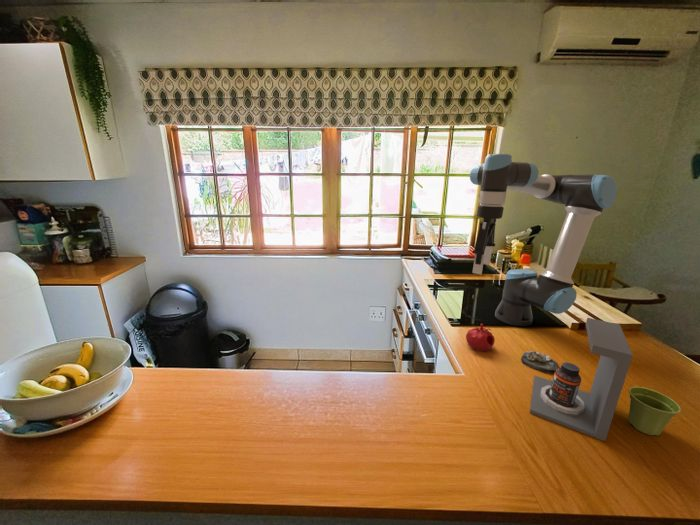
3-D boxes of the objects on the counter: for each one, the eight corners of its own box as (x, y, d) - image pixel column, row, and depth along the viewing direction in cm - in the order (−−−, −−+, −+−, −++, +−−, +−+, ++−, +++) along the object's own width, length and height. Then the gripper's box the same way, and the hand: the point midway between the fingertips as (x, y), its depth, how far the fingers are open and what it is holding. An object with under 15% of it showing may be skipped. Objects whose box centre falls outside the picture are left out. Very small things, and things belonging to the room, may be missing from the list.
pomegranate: (464, 350, 111) (467, 328, 108) (465, 337, 120) (468, 316, 117) (493, 356, 107) (497, 333, 104) (492, 342, 116) (496, 321, 113)
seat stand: (534, 378, 96) (549, 309, 89) (597, 398, 87) (619, 324, 81) (529, 412, 81) (547, 333, 75) (605, 441, 73) (632, 355, 66)
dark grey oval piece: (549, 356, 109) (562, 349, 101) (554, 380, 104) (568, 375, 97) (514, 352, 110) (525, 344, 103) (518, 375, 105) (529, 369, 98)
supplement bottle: (546, 400, 85) (555, 365, 82) (551, 390, 89) (559, 357, 86) (571, 411, 81) (582, 375, 78) (575, 400, 85) (585, 366, 82)
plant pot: (621, 407, 84) (630, 381, 82) (669, 427, 78) (680, 399, 75) (618, 425, 78) (627, 398, 75) (669, 449, 71) (681, 419, 69)
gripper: (486, 202, 108) (477, 259, 114) (469, 206, 88) (460, 275, 94) (509, 203, 104) (499, 262, 110) (497, 208, 84) (486, 280, 90)
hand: (481, 268), depth 102 cm, fingers open, 13 cm apart
